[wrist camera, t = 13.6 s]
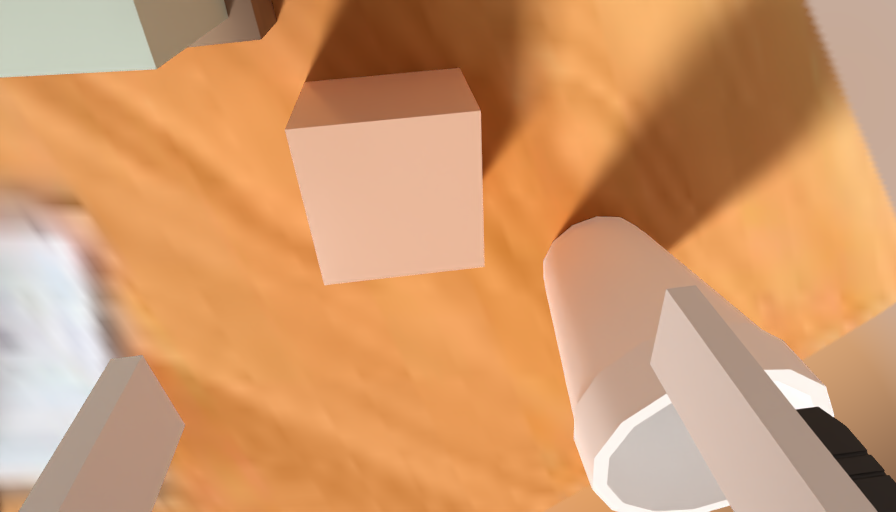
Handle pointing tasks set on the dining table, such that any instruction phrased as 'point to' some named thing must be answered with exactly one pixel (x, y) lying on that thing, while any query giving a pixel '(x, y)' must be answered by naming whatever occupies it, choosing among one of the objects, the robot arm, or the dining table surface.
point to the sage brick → (99, 34)
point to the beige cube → (390, 174)
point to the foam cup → (641, 366)
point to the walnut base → (241, 23)
